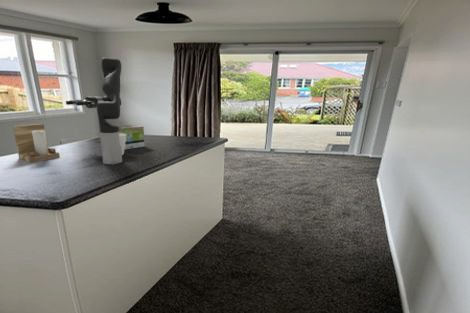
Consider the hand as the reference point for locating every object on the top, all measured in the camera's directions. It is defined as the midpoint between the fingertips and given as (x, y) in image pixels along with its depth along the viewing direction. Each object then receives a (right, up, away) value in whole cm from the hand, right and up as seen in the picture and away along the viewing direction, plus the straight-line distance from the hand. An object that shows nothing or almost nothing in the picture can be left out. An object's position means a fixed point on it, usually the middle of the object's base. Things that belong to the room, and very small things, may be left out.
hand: (71, 103), depth 150 cm
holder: (-13, -33, -8) cm, 36 cm away
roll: (-10, -31, -10) cm, 34 cm away
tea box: (+26, -26, +24) cm, 44 cm away
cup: (+26, -31, +4) cm, 41 cm away
